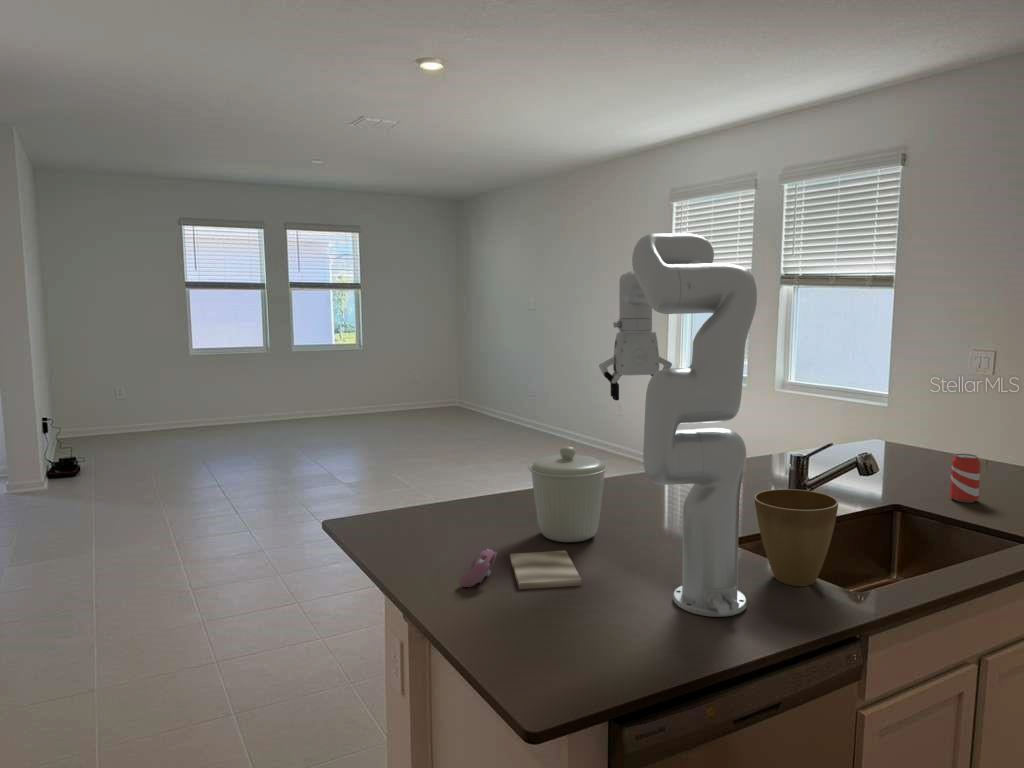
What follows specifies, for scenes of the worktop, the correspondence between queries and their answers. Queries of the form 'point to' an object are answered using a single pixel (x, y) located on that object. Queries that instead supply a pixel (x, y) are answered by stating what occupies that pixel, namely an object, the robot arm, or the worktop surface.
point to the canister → (568, 495)
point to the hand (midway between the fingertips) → (635, 398)
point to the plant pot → (796, 532)
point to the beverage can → (965, 478)
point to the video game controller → (479, 569)
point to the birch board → (544, 570)
